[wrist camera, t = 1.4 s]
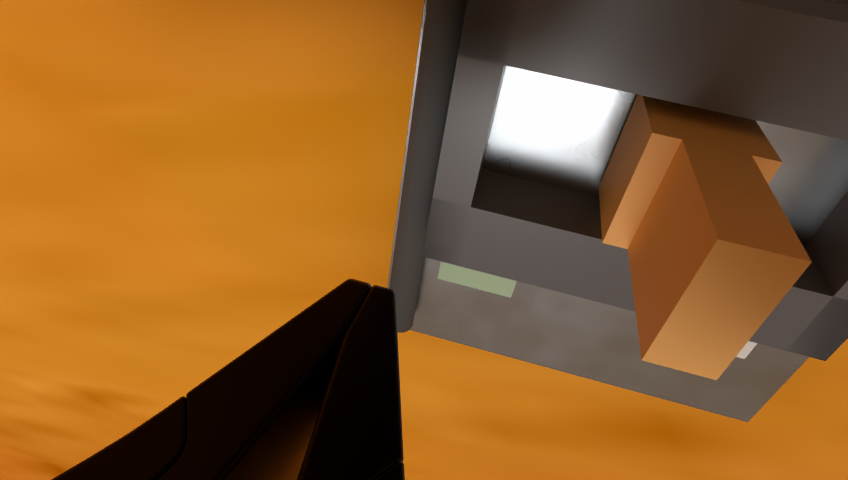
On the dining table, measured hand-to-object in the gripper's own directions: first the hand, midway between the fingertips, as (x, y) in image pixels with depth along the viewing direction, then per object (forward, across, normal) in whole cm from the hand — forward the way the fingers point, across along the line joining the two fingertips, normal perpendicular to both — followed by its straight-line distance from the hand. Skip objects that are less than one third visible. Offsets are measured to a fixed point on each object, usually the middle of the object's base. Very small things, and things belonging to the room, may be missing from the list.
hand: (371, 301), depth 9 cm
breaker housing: (+9, -6, +2) cm, 11 cm away
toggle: (+9, -6, 0) cm, 11 cm away
